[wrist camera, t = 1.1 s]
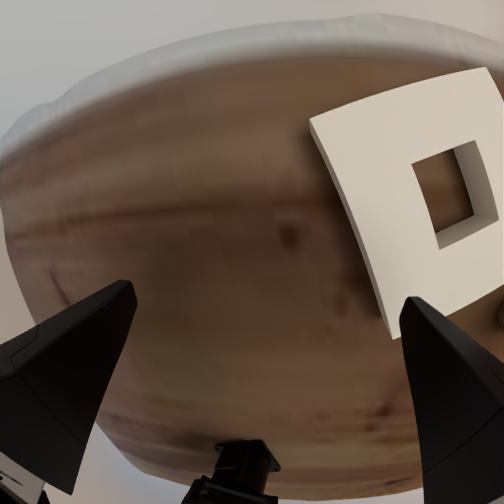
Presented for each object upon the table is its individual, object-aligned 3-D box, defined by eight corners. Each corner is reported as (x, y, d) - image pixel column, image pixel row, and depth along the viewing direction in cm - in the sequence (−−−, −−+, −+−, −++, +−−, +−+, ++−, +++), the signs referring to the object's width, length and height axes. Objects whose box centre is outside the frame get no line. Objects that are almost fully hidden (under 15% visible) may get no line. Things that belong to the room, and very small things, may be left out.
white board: (519, 247, 17) (543, 257, 14) (381, 317, 22) (392, 339, 18) (465, 81, 16) (485, 66, 12) (310, 132, 20) (309, 118, 16)
